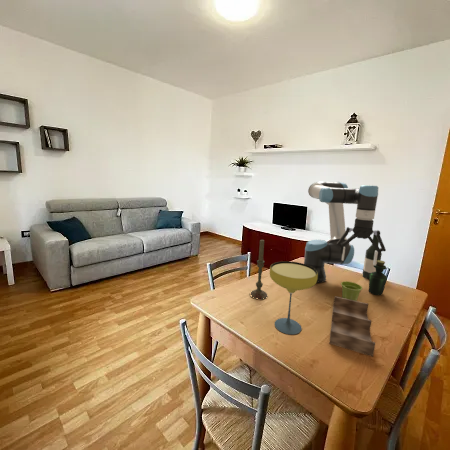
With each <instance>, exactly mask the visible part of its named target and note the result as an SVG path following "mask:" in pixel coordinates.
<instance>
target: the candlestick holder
mask: <svg viewBox="0 0 450 450" xmlns="http://www.w3.org/2000/svg"><path fill="white" fill-rule="evenodd" d="M264 248H265V240H264V239H260V240H259V248H258V260H256V263H257V264H256V266H257V267H258V268H257V269H258V271H257V274H258V278H257V282H255V286H256V289H253V290H252V292H251V291H250V292H251V295H252V297H254V298H258V299H262V300H264V299H263V298H265V299H267V298H268V296H267V295H268V293H267V292H266V291H264V290H263V289H262V287H263V286H264V285H263V282H262V275H263V268H264V266H265V262H266V261H265V260H264V251H265V249H264ZM252 297H251V298H252ZM266 297H267V298H266ZM254 298H253V299H254ZM258 299H257V300H258Z"/></svg>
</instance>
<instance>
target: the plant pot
mask: <svg viewBox="0 0 450 450" xmlns="http://www.w3.org/2000/svg"><path fill="white" fill-rule="evenodd" d="M340 285H341V289H342V291H341V292H342V294H341V295H342V296H341V298H345V299H350V300H354V301H358V298H359V295H360V293H361V291H362V290H363V286H362V285H361V284H358V283H356V282H352V281H347V280H345V281H342V282H341V283H340Z"/></svg>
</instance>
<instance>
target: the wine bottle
mask: <svg viewBox="0 0 450 450" xmlns="http://www.w3.org/2000/svg"><path fill="white" fill-rule="evenodd" d="M374 231H376V230H374ZM372 239H373V241H374V242H375V243H376V245H377V246H378V247H379V245H380V244H379V241H378V239H377V236H376V235H375V234H374V233H373V234H372ZM375 250H376V251H377V249H376V248H375V247H374V245H373V244H372V243H371V245H370V246H368V248H367V249H366V250H365V254H364V255H365V257H364V262H363V267H362V268H363V269H362V274H363V276H362V277H363V278H364V279H367V280H369V277H370V273H372V272H376V268H375V267H374V265H373V260H374V254H375ZM382 255H383V253H382V252H381V253H380V258H377V260H381V259H382ZM381 261H382V260H381ZM376 264H377V261H376Z"/></svg>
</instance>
